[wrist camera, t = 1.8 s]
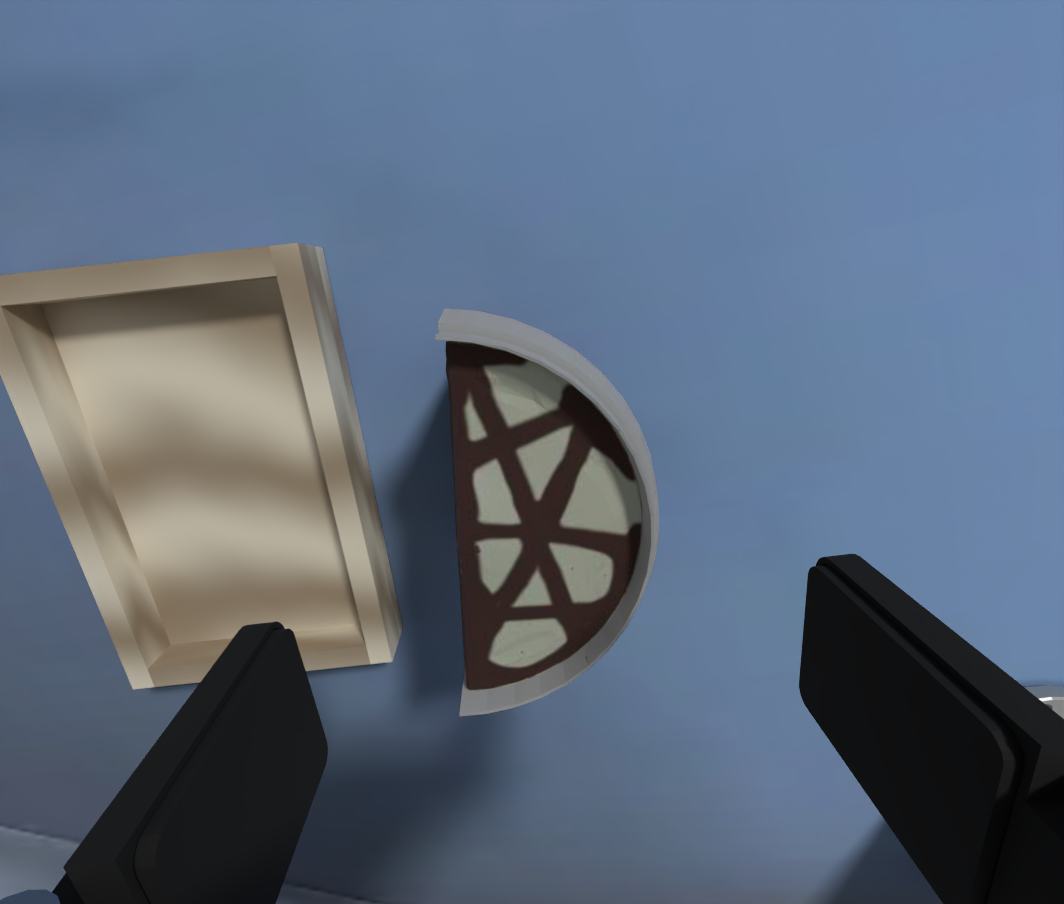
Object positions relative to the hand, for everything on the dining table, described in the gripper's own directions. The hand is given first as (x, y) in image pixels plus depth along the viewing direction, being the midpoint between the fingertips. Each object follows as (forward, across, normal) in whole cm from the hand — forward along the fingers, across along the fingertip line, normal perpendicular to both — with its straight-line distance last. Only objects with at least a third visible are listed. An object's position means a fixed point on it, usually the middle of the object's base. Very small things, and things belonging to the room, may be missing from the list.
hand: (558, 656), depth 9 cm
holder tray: (+15, +13, +1) cm, 20 cm away
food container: (+15, -1, +1) cm, 15 cm away
